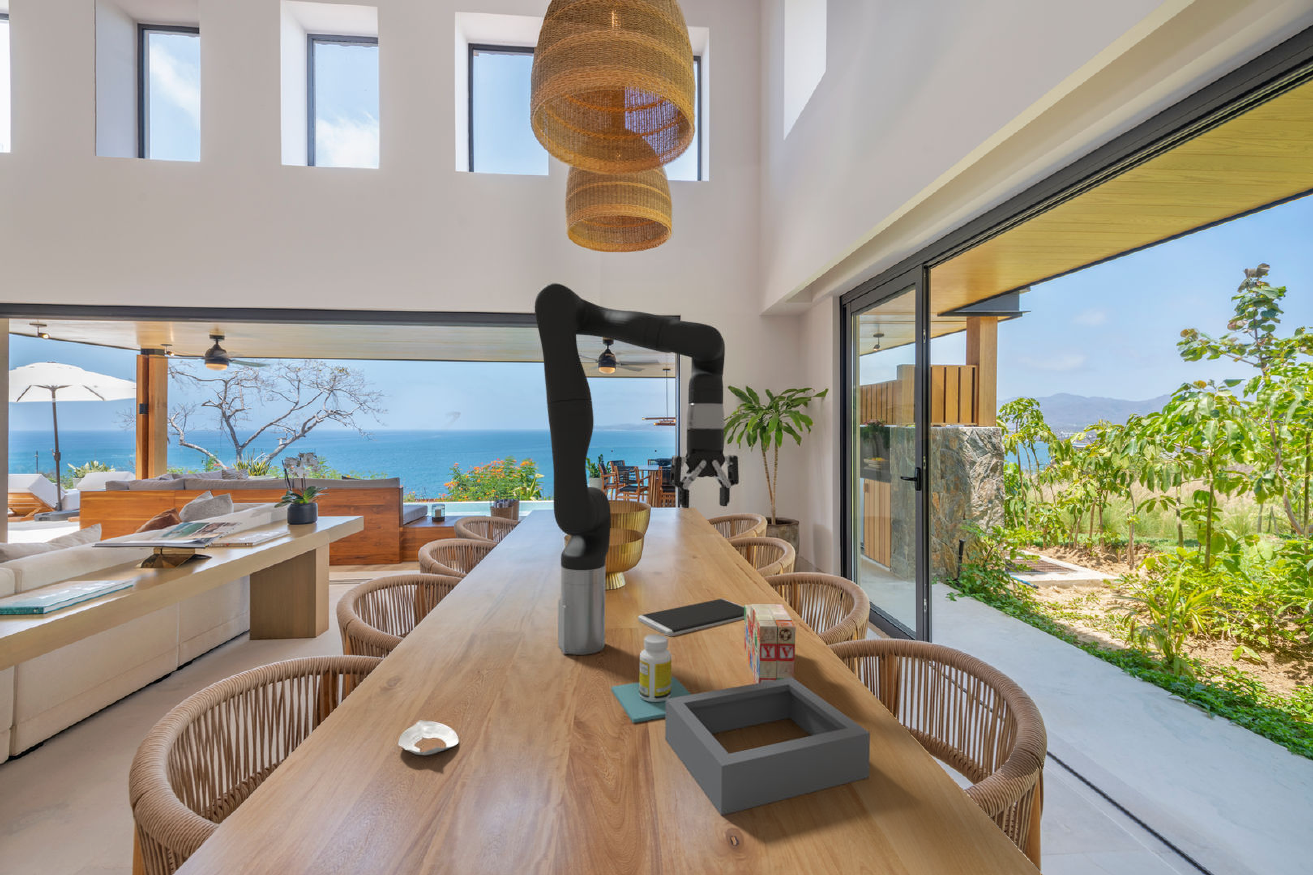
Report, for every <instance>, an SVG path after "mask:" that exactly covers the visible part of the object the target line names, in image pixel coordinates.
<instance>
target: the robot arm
mask: <svg viewBox="0 0 1313 875" xmlns="http://www.w3.org/2000/svg"><path fill="white" fill-rule="evenodd" d="M534 314H535V320H536V325H537V329H538V334H539V339H540V343H541V348H542V349H541V350H542V356H543V368H544V372H543V373H544V381H545V392H546V408H547V416H548V424H549V431H550V443H551V444H550V445H551V454H552V466H553V468H552V469H553V513H554V519H555V523H556V524H557V526H558V528H559V529H560V530H561V531H562V532H563V533H565V535H568V536H570V537H569V541H568V544H567V545H566V546H565V548H563V550H562V551H561V554H560V598H559V599H558V601H557V602H558V605H557V606H558V610H557V613H558V614H557V624H558V625H557V626H558V627H557V645H558V647H559V648H560V651H562V654H563V655H580V656H583V655H591V654H596V653H598V652H599V653H600V652H601V651H603V649H604V648H605V646H606V644H605V643H606V642H605V641H606V634H605V633H606V560H607V554H608V552H609V549H610V548H609V547H610V543H611V542H610V540H611V539H610V538H611V537H610V536H611V522H612V521H611V520H612V519H611V514H612V513H611V506H610V501H609V498H608V496H607V494H605V492H604V491H603V490H601V489H600V488H598V487H594V486H589V485H588V479H587V478H588V477H587V456H588V452H589V447H590V444H591V441H592V436H593V431H594V423H595V421H594V419H595V418H594V409H593V407H594V406H593V400H592V399H593V398H592V393H591V388H590V385H589V382H588V379H587V375H586V373H585V369H584V366H583V363H582V361H581V358H580V354H579V349H578V343H577V341H578V340H577V335H578V336H579V335H580V336H592V337H599V338H604V339H609V340H614V341H617V342H621V343H625V344H629V345H632V346H636V347H639V348H644V349H648V350H652V351H656V352H660V353H665V354H667V353H668V354H671V353H673V354H677V355H682V356H685V357H688V358H691V362H690V363H691V368H690V369H691V372H690V373H691V374H690V375H691V376H690V378H689V382H688V395H687V396H688V400H687V401H688V402H687V410H686V411H687V413H686V454H685V456H680V455H671V460H670V461H671V462H670V473H669V474H670V475H669V476H670V478H669V484H670V485H671V486H674V487H675V488H678V490H679V491H678V497H679V498H678V503H679V505H681V508H682V509H689V508H690V489H689V487H690V486H691V484H692V483H693V482H694V481H696V480H697V478H705V477H708V478H714V479H716V481H717V482H718V484H719V485H720V486H721V487H719V502H718V503H719V506H721V507H727V506H728V504H729V503H730V501H731V500H730V498H731V497H730V496H731V495H730V492H731V487H732V486H735V485H738V484H739V480H740V479H739V457H738V455H734V454H728V455H724V449H725V425H726V424H725V423H726V422H725V412H724V382H723V378H724V377H723V375H724V367H725V355H726V353H725V352H726V347H725V345H726V344H725V340H724V337H723V335H722V334H721V332H720V330H718V329H717V328H716V327H714V326H713V325H709V324H706V323H702V322H701V323H699V322H694V321H684V320H677V319H673V318H671V317H670V318H669V317H665V316H663V315H662V316H661V315H658V314H653V313H649V312H644V311H643V312H642V311H637V310H636V311H635V310H619V309H612V308H609V307H604V306H602V305H601V306H600V305H598V304H595V303H592V302H590V301H588V300H586V299H583V298H581V297H580V296H579V294H577V293H576V292H575V291H573V290H572V289H571V288H569V287H568V286H566V285H564V284H560V283H557V282H556V283H555V282H554V283H553V282H552V283H549V284H546V285H544V286H543V287H542V288H541V289H540V290H539V292H537V294H536V298H535V301H534ZM684 464H686V466H687V469H686V471H685V472H684V474H683V475H682V477H681V474H682V468H683V467H684ZM724 464H725V465H726V466H727V474H726V473H725V472H724V470H723V469H722V467H723V465H724Z"/></svg>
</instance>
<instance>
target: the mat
mask: <svg viewBox="0 0 1313 875" xmlns="http://www.w3.org/2000/svg"><path fill="white" fill-rule="evenodd" d="M610 688H611V690H610V691H611V692H612V693H613V695H614V696H615V699H616V700H617V701H618V702H619V705H621V707H622V708H623V710H624V712H625V713H626V715H627V716H628V717H629V719H630V720H631V722H632V723H633V724H635V723H640V722H646V721H651V719H653V720H657V719H658V720H659V719H662V718H663V717H664V718H666V700H665V701H662V702H649V701H646V700H643V699H642V698H641V697H640V694H639V681H638V682H633V683H626V684H619V685H613V686H611V687H610ZM686 695H692V693H690V692H689V691H688V689H687V688H686V687H685V686H684V685H683V684H682V683H681V682H680V680H678V679H677V678H676V677H675V676H671V695H670V697H669V698H675V697H680V696H686ZM669 698H668V699H669Z"/></svg>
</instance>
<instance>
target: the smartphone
mask: <svg viewBox="0 0 1313 875" xmlns="http://www.w3.org/2000/svg"><path fill="white" fill-rule="evenodd" d="M637 620H638V622H640V623H642V624H643V625H646V626H647V625H648V626H647V627H650V628H652V629H653V630H655V629H656V630H655V631H657V632H659V633H661V634H663V633H664V634H663V635H664V636H666V637H674V636H678V635H683V633H684V634H687V633H691V632H695V630H696V631H699V630H698V629H700V630H703V629H708V628H711V626H712V627H715V626H714V625H716V626H719V625H724V624H728V623H732V622H736V621H741V620H744V605H740V604H739V603H735V602H732V601H730V600H727V599H725V598H718V599H714V600H708V601H703V602H699V603H694V604H689V605H685V606H679V607H674V608H669V609H664V610H659V611H655V612H649V613H643V614H640V615H638V618H637ZM731 621H732V622H731ZM727 622H728V623H727ZM723 623H724V624H723Z"/></svg>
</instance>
